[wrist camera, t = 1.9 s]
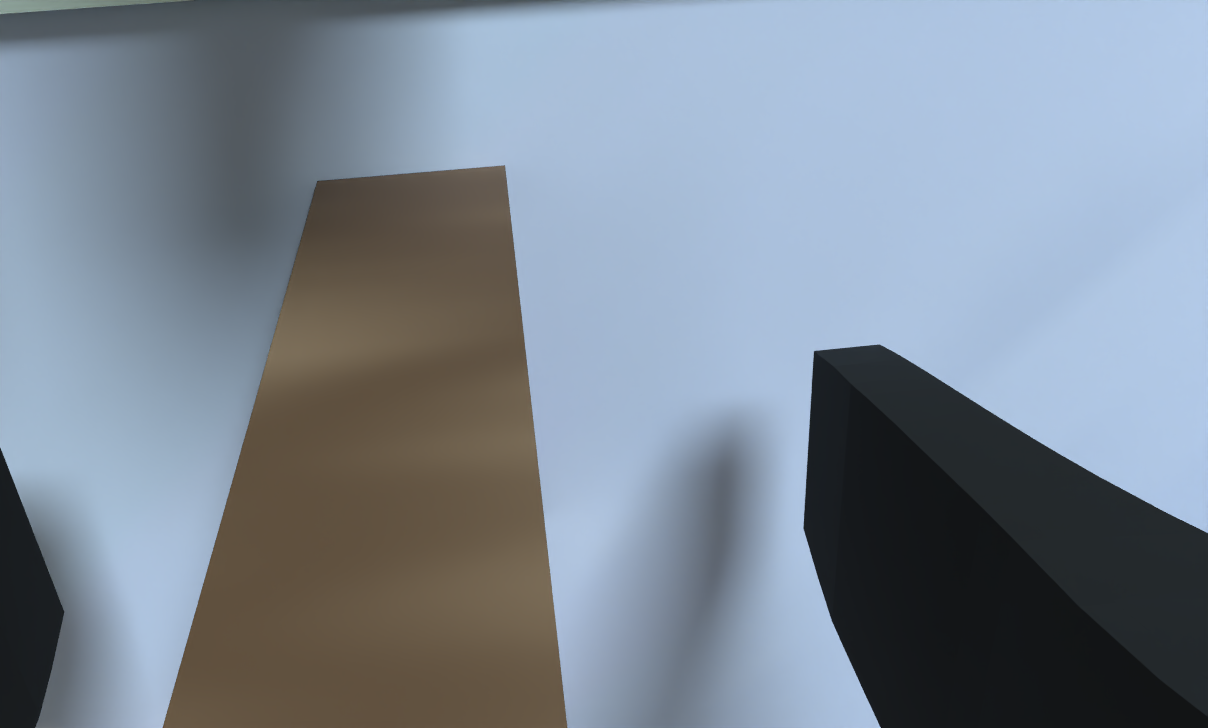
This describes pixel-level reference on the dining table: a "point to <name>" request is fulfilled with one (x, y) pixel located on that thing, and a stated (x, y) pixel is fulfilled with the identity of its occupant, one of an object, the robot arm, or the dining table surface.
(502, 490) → the domino
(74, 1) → the mat
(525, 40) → the dining table surface
